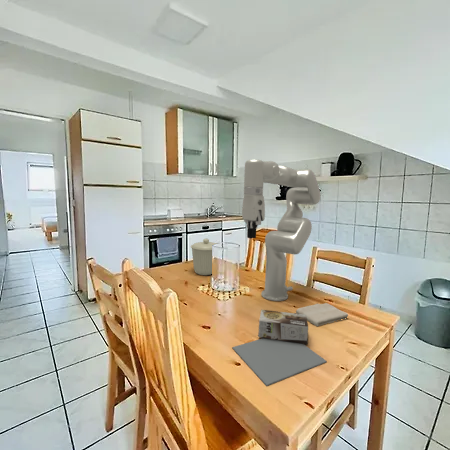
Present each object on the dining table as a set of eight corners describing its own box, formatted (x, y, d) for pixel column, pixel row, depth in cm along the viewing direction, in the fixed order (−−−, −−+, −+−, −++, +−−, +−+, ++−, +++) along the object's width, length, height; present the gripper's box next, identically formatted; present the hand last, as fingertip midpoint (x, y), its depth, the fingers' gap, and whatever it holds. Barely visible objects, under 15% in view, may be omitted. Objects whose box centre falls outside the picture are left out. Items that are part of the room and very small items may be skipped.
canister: (226, 273, 159) (227, 239, 156) (204, 280, 146) (204, 242, 143) (206, 266, 171) (207, 234, 168) (184, 272, 158) (184, 238, 155)
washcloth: (349, 319, 105) (350, 312, 105) (316, 328, 97) (317, 320, 97) (326, 307, 116) (327, 300, 115) (295, 314, 108) (295, 307, 108)
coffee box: (258, 338, 88) (307, 345, 85) (258, 320, 88) (309, 326, 84) (260, 325, 97) (305, 331, 94) (261, 308, 97) (306, 314, 93)
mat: (286, 332, 93) (286, 331, 93) (326, 362, 77) (326, 361, 77) (232, 348, 83) (232, 347, 83) (266, 386, 67) (266, 384, 67)
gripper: (272, 192, 98) (270, 240, 101) (250, 191, 111) (249, 234, 114) (256, 192, 95) (254, 242, 97) (235, 191, 108) (234, 235, 110)
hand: (251, 237), depth 105 cm, fingers closed
